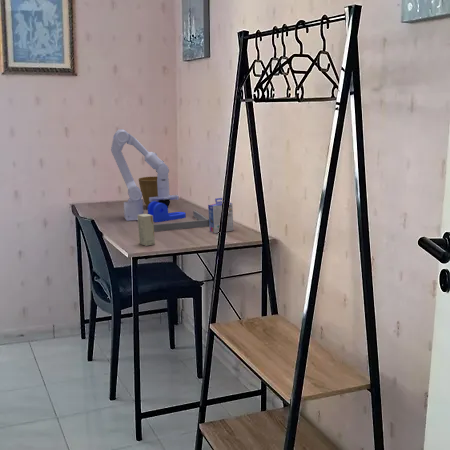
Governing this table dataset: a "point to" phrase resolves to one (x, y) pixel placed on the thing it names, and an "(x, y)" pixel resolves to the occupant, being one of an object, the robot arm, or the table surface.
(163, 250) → the table surface
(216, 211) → the ink cartridge box
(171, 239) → the table surface
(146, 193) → the plant pot
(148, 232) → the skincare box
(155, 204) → the bracket
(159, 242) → the table surface
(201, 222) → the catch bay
